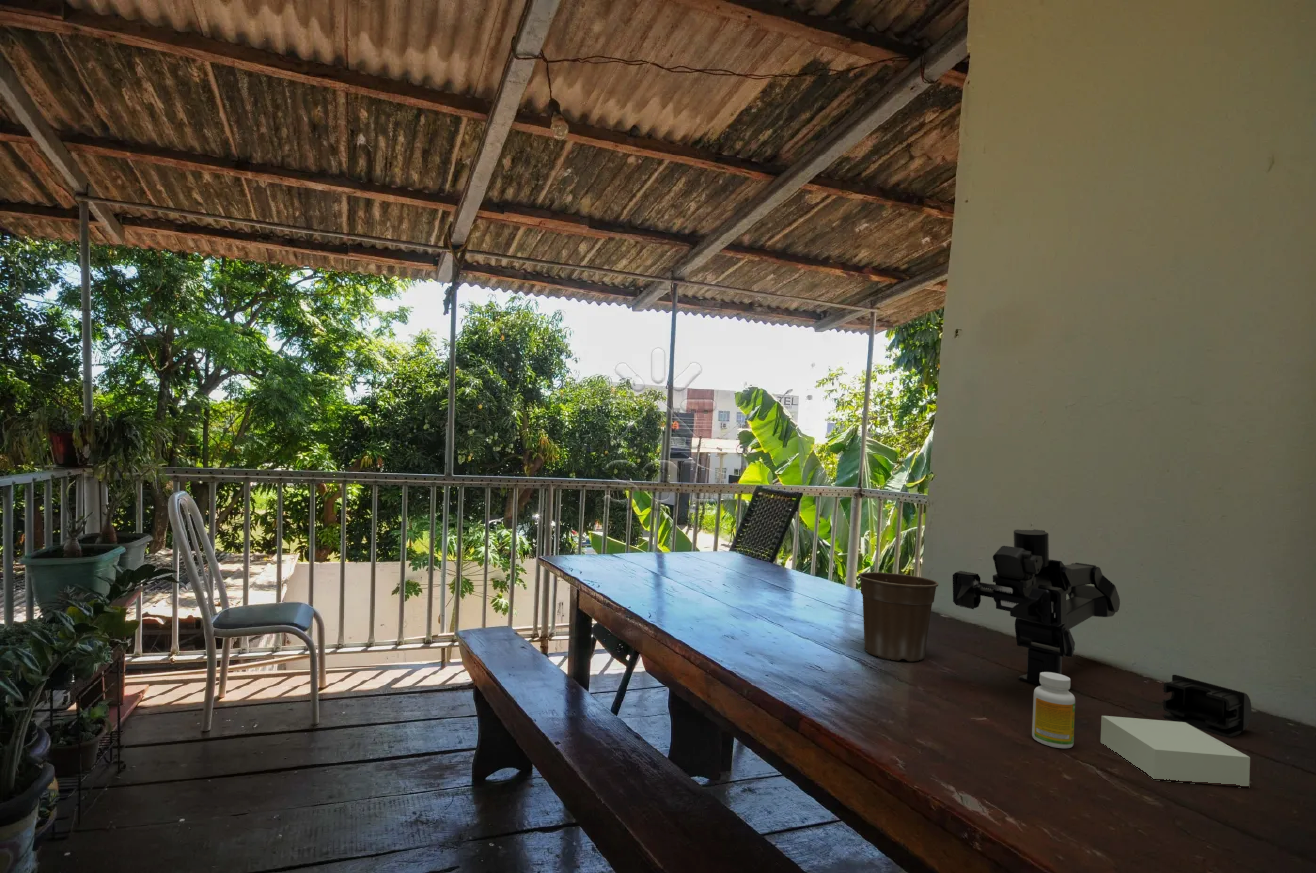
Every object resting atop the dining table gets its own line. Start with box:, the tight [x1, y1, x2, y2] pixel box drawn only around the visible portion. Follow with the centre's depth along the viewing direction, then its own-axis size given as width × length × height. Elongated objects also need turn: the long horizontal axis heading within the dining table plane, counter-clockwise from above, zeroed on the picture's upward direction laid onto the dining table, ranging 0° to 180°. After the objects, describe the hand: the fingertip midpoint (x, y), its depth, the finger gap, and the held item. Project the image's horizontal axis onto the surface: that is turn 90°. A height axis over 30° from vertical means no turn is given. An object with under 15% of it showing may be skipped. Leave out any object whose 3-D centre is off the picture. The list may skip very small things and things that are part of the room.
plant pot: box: [857, 571, 939, 662], centre depth 145 cm, size 16×16×16 cm
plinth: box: [1100, 715, 1251, 787], centre depth 96 cm, size 12×12×4 cm
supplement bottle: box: [1031, 672, 1076, 749], centre depth 101 cm, size 5×5×10 cm
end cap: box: [1162, 674, 1252, 739], centre depth 113 cm, size 10×7×7 cm
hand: (983, 607), depth 115 cm, fingers open, 9 cm apart
